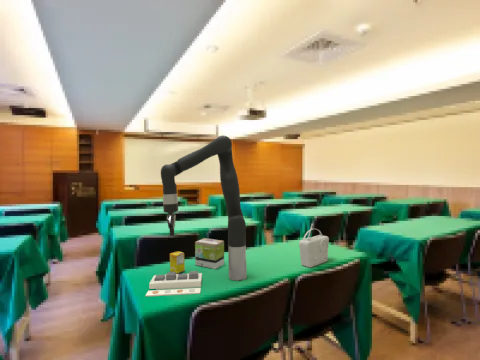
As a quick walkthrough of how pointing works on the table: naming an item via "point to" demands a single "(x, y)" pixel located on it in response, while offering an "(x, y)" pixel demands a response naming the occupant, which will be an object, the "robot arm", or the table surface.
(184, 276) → the button
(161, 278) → the button
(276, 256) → the table surface
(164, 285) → the button board
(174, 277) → the button
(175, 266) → the supplement box
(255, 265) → the table surface
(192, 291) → the pattern card
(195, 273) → the button
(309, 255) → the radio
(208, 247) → the tea box
